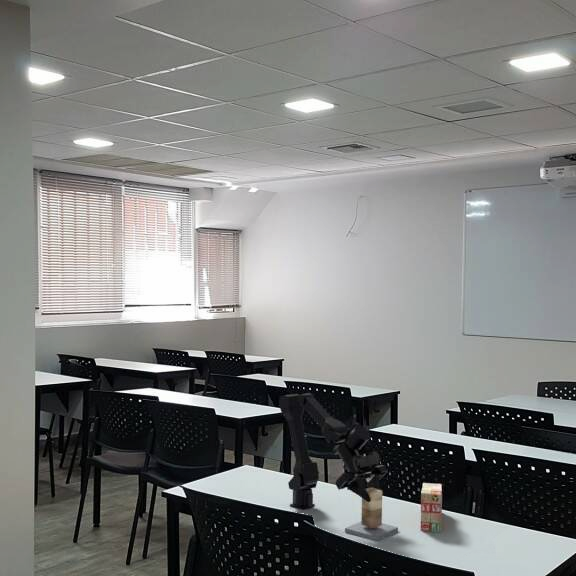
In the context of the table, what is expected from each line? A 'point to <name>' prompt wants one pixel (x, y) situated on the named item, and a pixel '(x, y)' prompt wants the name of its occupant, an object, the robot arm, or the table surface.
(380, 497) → the tower
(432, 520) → the stack of blocks
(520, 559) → the table surface
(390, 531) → the plate
